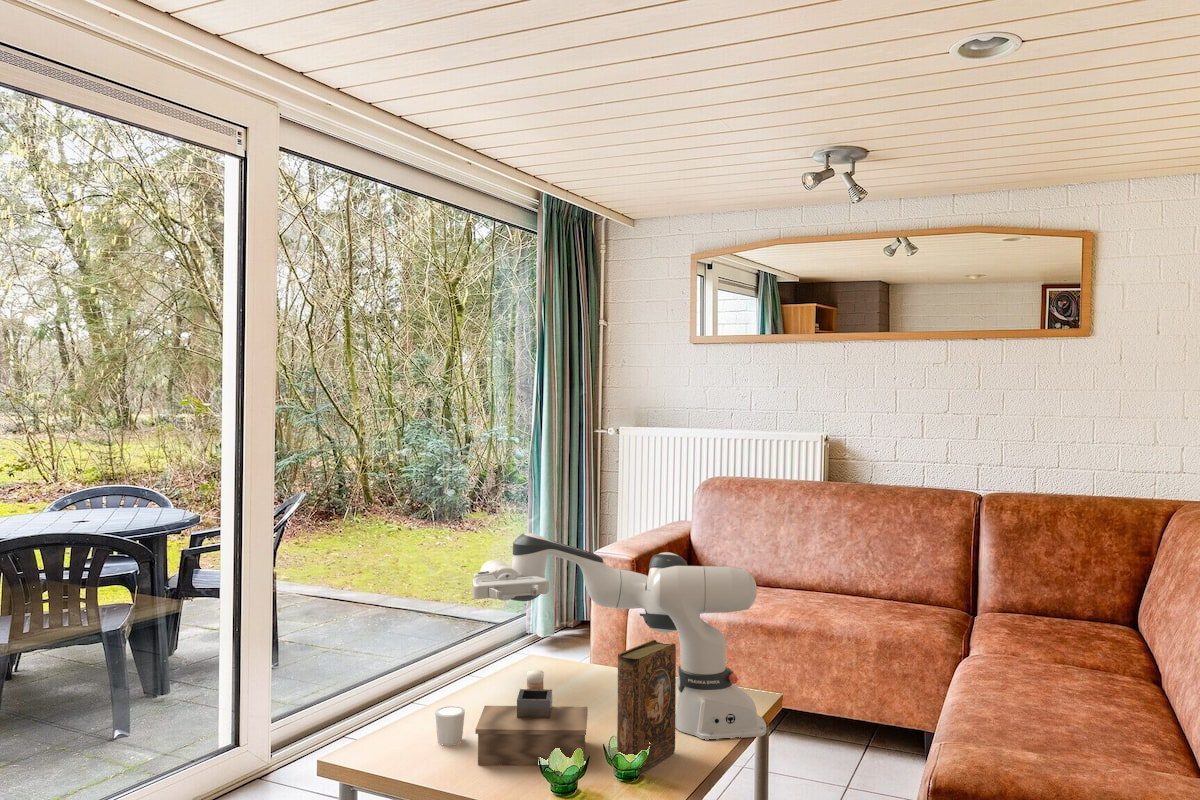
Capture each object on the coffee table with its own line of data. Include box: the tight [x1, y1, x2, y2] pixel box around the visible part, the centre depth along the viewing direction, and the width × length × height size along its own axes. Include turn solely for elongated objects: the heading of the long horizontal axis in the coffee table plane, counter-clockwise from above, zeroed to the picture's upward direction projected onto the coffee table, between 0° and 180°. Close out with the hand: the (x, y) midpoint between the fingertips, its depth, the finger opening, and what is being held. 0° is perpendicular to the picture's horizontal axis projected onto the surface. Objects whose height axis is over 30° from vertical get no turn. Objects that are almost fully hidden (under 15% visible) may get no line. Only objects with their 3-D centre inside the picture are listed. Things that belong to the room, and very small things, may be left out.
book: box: [616, 639, 677, 776], centre depth 190 cm, size 16×6×25 cm, turn 144°
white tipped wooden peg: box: [526, 669, 545, 689], centre depth 211 cm, size 4×4×13 cm
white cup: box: [434, 705, 466, 746], centre depth 202 cm, size 7×7×7 cm
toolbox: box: [475, 688, 588, 767], centre depth 195 cm, size 24×14×12 cm, turn 90°
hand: (517, 593), depth 222 cm, fingers open, 8 cm apart
